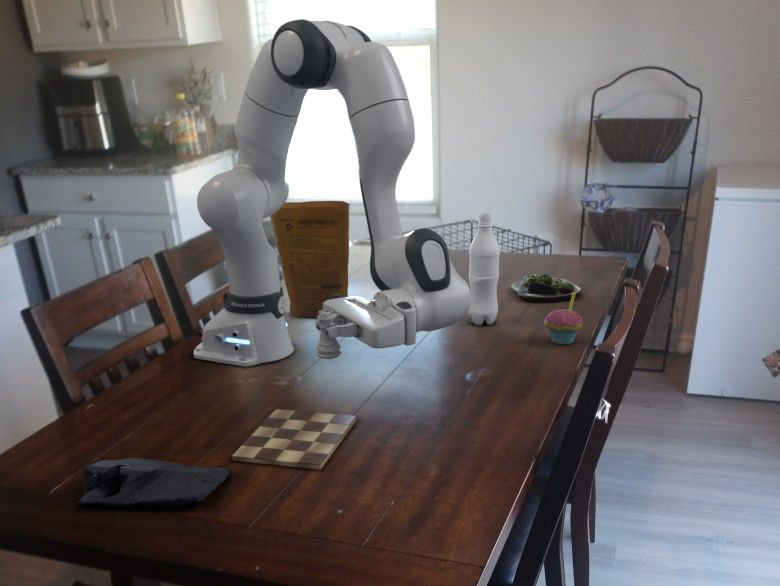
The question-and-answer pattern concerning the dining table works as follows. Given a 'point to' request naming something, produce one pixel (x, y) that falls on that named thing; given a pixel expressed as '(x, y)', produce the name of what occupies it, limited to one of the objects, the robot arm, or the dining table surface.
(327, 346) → the rook chess piece
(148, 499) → the dark slate chunk
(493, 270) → the water bottle
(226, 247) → the robot arm
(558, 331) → the cupcake
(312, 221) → the pancake mix bag
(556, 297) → the salad plate
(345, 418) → the chessboard
